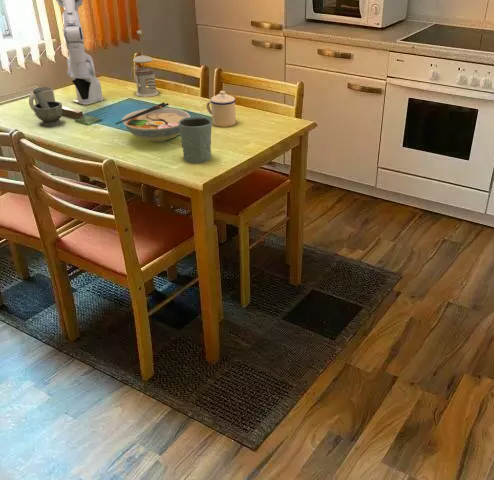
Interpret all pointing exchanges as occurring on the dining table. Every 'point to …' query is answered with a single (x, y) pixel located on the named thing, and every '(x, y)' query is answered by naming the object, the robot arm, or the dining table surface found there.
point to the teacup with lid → (222, 110)
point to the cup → (47, 94)
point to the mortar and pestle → (47, 110)
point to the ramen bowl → (155, 123)
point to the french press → (144, 76)
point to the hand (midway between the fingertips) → (85, 98)
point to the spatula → (78, 116)
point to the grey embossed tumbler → (196, 139)
